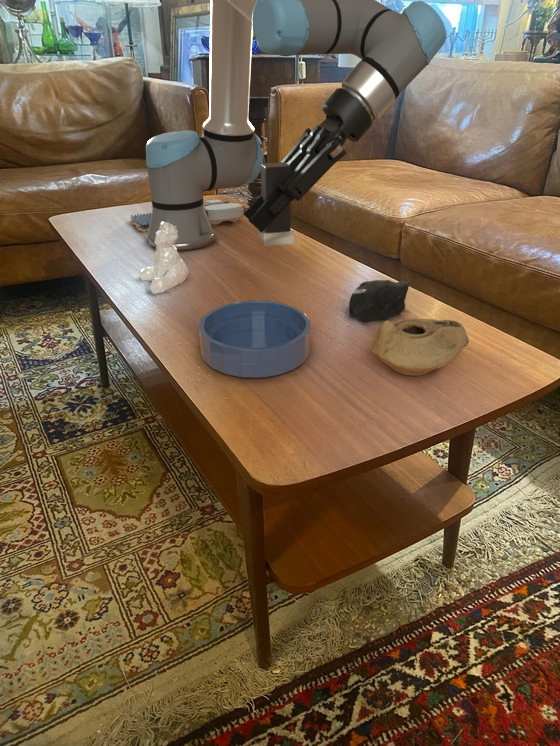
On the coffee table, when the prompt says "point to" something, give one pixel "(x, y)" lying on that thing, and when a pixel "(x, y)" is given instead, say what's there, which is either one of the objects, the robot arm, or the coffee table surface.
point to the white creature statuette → (165, 261)
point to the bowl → (254, 338)
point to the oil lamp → (418, 344)
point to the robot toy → (223, 211)
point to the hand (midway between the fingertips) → (252, 223)
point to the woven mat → (141, 221)
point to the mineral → (378, 299)
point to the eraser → (280, 226)
